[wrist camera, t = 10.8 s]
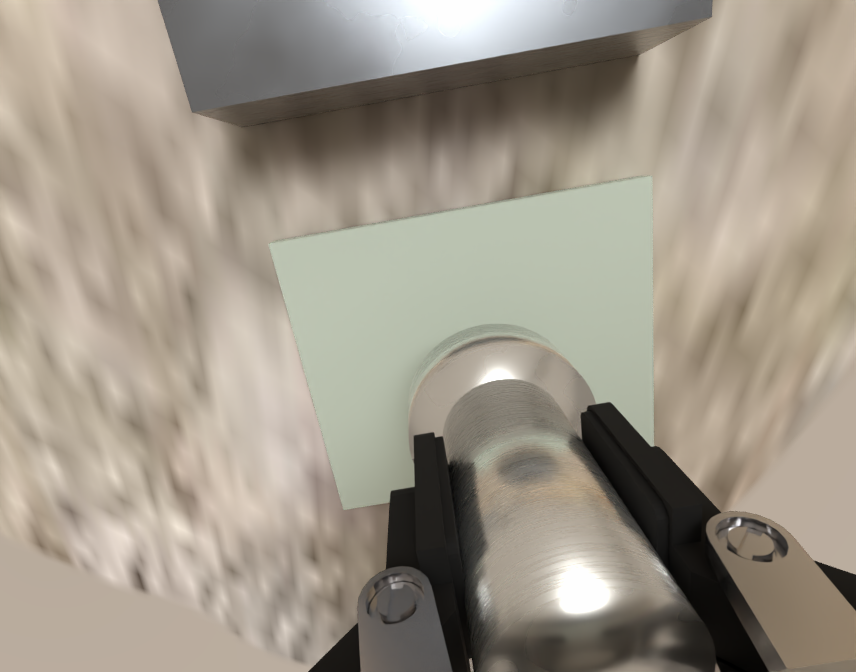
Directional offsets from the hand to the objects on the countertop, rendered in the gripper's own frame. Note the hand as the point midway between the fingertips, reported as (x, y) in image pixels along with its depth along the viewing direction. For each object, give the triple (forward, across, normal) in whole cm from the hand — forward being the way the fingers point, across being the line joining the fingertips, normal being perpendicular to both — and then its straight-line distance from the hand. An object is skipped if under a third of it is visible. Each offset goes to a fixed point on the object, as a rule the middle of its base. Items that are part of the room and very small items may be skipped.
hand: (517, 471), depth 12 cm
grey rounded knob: (+4, 0, 0) cm, 4 cm away
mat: (+8, 0, 0) cm, 8 cm away
